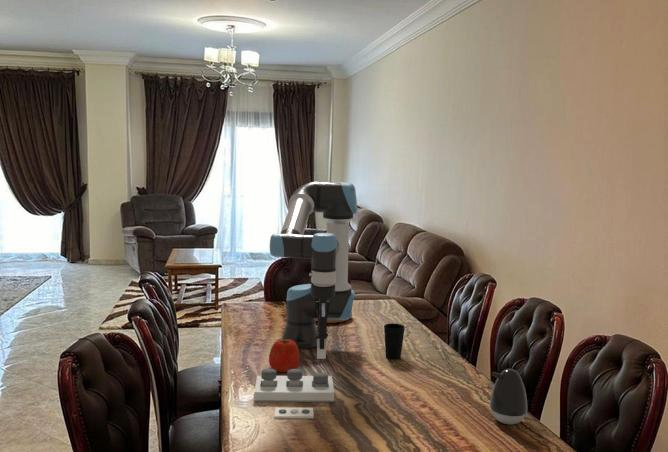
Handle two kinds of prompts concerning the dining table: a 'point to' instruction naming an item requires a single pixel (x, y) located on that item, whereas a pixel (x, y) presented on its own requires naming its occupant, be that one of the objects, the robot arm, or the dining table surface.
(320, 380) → the button
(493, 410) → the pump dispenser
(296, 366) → the apple
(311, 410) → the pattern card
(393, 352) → the cup
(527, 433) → the dining table surface
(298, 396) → the board
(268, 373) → the button
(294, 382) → the button
